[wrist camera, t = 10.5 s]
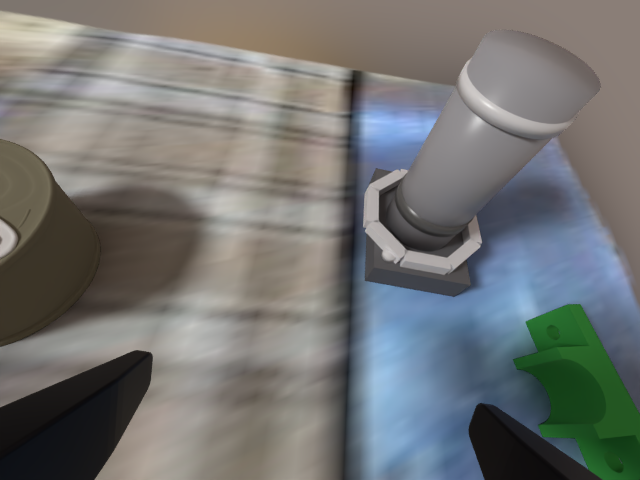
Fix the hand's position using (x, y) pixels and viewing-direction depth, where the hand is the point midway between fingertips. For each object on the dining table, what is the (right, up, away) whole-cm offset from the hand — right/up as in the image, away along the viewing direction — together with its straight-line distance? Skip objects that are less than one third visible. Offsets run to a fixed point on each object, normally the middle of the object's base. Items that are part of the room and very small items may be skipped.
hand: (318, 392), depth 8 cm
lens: (+9, +6, +19) cm, 21 cm away
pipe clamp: (+18, -8, +15) cm, 24 cm away
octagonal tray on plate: (+8, +5, +21) cm, 23 cm away
